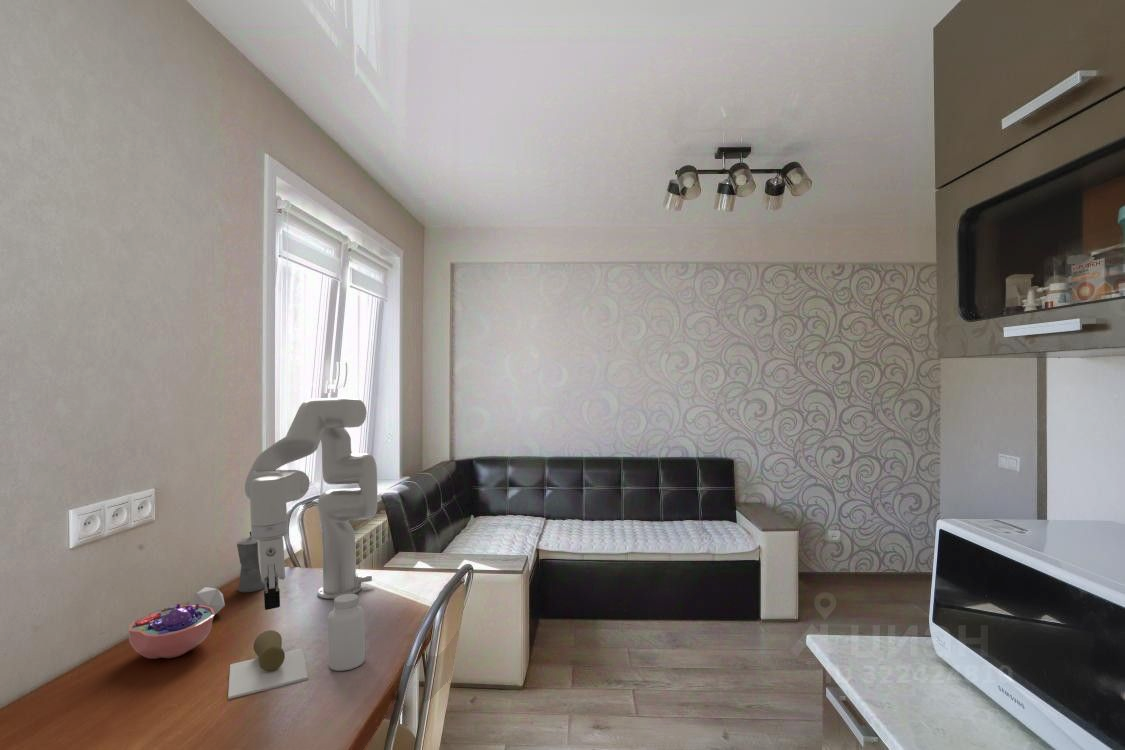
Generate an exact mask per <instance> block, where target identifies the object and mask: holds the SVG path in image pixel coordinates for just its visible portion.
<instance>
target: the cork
mask: <svg viewBox="0 0 1125 750" xmlns="http://www.w3.org/2000/svg"><path fill="white" fill-rule="evenodd" d="M282 641H283V638H282V635H281V634H280V633H279V632H278V631H276V630H274V629H273V630H265V631H263V632H261V633H260V634H258V636H257V637H256V638H255V639H254V641H253V650H254V653H255V654H256V656H257V658H259V665H260V667H261V668H262V669H263V670H265V671H274V670H276V669H278V668H279V667H280V666H281V665H282V663H283V662H284V658H285V653H284V652H285V651H284V649H283V648H282V644H283V643H282Z"/></svg>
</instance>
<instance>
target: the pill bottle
mask: <svg viewBox="0 0 1125 750" xmlns="http://www.w3.org/2000/svg"><path fill="white" fill-rule="evenodd" d="M359 600H360V599H359V595H358V594H357V593H355V594H344V595H340V596H338V597H336V598H335V599H333V609H332V610H331V611H330V612H329V614H328V617H327V655H328V656H327V658H328V667H329V669H330V670H332V671H336V672H338V671H339V672H341V671H348V670H353V669H355V668H358V667H359V666H361V665H363V663H364V662H365V660H366V630H365V628H366V627H365V626H366V623H365V620H366V619H365V611H364V610H365V609H364V608H363V607H362V606H360V605H359Z"/></svg>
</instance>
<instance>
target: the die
mask: <svg viewBox="0 0 1125 750" xmlns="http://www.w3.org/2000/svg"><path fill="white" fill-rule="evenodd" d="M196 604H199V605H202V606H207V607H210V608H212V609H213V611H214V613H215V615H216V614H218V613H219V612H220V611H221V610H222V609H223V608H224V607H225V606H226V604H225V599H224V593H222V592H221V591H220V590H219V589H218V588H214V587H207V586H204V588H202V589H201V590H199V591H198V592H196V593H195V594H194V595H193V596H192V597H191V598H190V600H189V601H188V605H196Z"/></svg>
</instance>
